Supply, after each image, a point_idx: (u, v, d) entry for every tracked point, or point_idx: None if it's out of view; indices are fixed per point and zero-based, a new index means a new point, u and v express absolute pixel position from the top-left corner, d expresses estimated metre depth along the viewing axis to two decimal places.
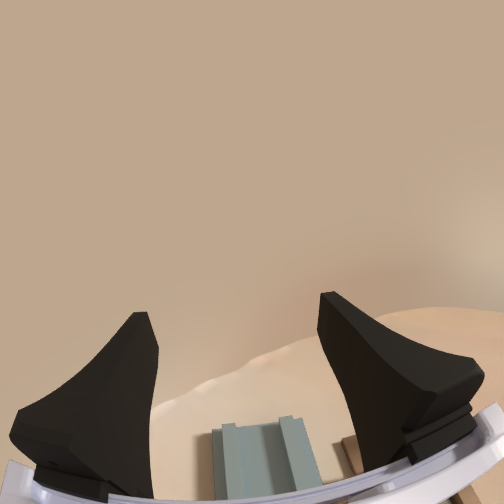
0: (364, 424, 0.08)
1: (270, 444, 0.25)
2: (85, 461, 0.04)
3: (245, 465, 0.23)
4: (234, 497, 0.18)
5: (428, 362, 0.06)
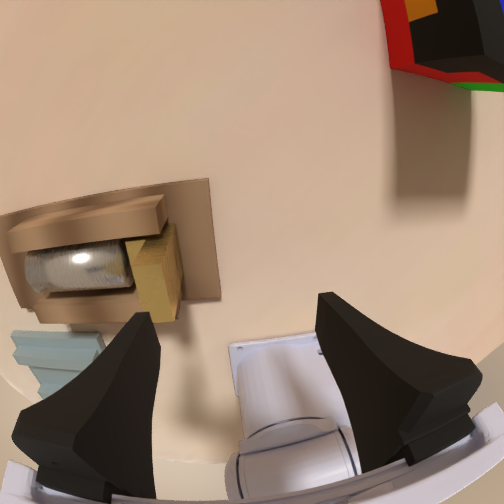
0: (361, 425, 0.08)
1: None
2: (89, 462, 0.04)
3: None
4: None
5: (425, 363, 0.06)
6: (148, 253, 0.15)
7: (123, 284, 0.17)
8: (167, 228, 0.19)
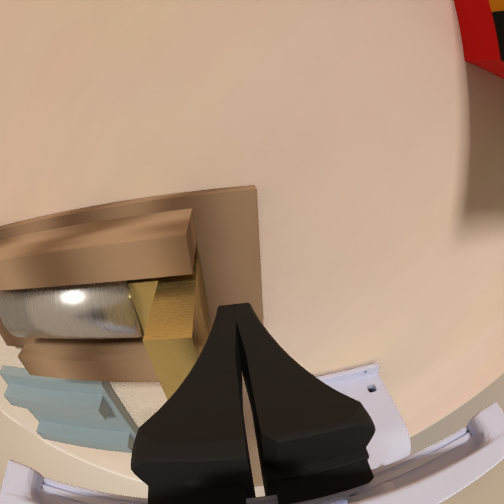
0: (258, 447, 0.07)
1: None
2: (248, 467, 0.04)
3: (72, 424, 0.20)
4: (111, 448, 0.19)
5: (299, 398, 0.06)
6: (166, 311, 0.10)
7: (134, 335, 0.12)
8: None
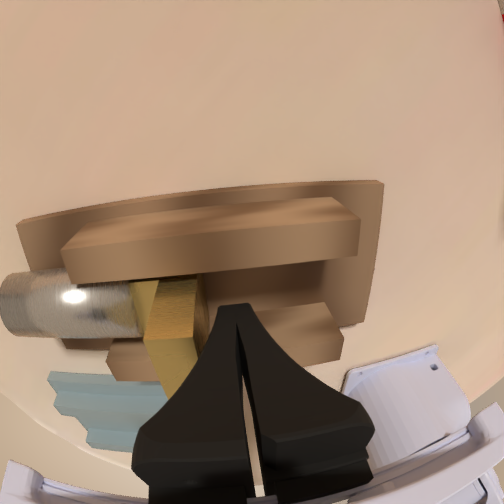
0: (258, 447, 0.07)
1: None
2: (249, 467, 0.04)
3: (130, 430, 0.20)
4: None
5: (299, 398, 0.06)
6: (167, 310, 0.10)
7: (135, 334, 0.12)
8: None
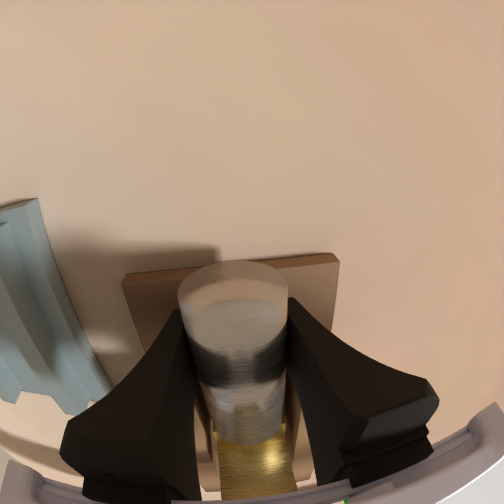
0: (314, 437, 0.08)
1: None
2: (157, 470, 0.04)
3: None
4: None
5: (372, 381, 0.06)
6: None
7: (225, 438, 0.12)
8: None
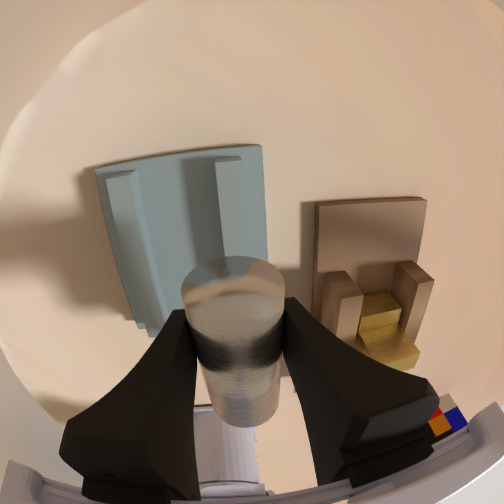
0: (315, 437, 0.08)
1: (197, 202, 0.17)
2: (156, 469, 0.04)
3: (156, 243, 0.17)
4: (149, 315, 0.18)
5: (373, 380, 0.06)
6: None
7: (222, 419, 0.13)
8: None
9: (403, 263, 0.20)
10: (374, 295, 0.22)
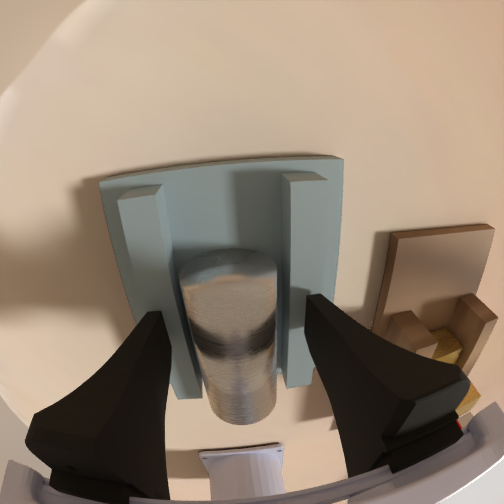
0: (348, 429, 0.08)
1: (251, 234, 0.12)
2: (108, 465, 0.04)
3: None
4: (179, 377, 0.13)
5: (410, 368, 0.06)
6: None
7: (218, 416, 0.13)
8: None
9: (465, 297, 0.16)
10: (433, 332, 0.17)
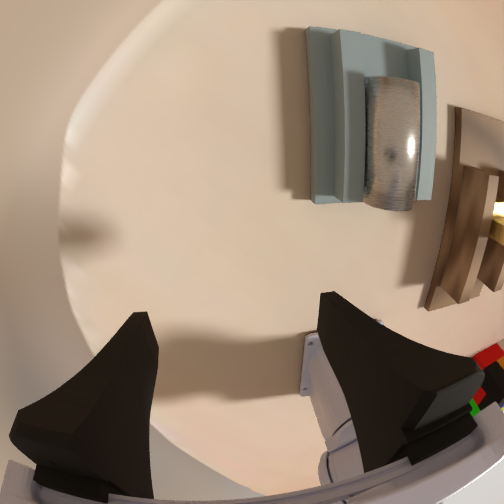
0: (364, 424, 0.08)
1: None
2: (85, 461, 0.04)
3: None
4: (353, 171, 0.16)
5: (428, 362, 0.06)
6: None
7: (375, 205, 0.16)
8: None
9: (503, 171, 0.19)
10: None
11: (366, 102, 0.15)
